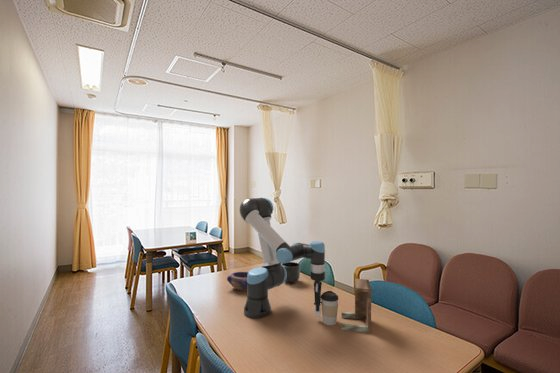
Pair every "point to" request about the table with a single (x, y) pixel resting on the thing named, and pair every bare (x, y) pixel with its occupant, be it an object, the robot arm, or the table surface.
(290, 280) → the planter
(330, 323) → the coffee cup
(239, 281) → the bowl
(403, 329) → the table surface
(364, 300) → the wooden bookend
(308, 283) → the table surface
